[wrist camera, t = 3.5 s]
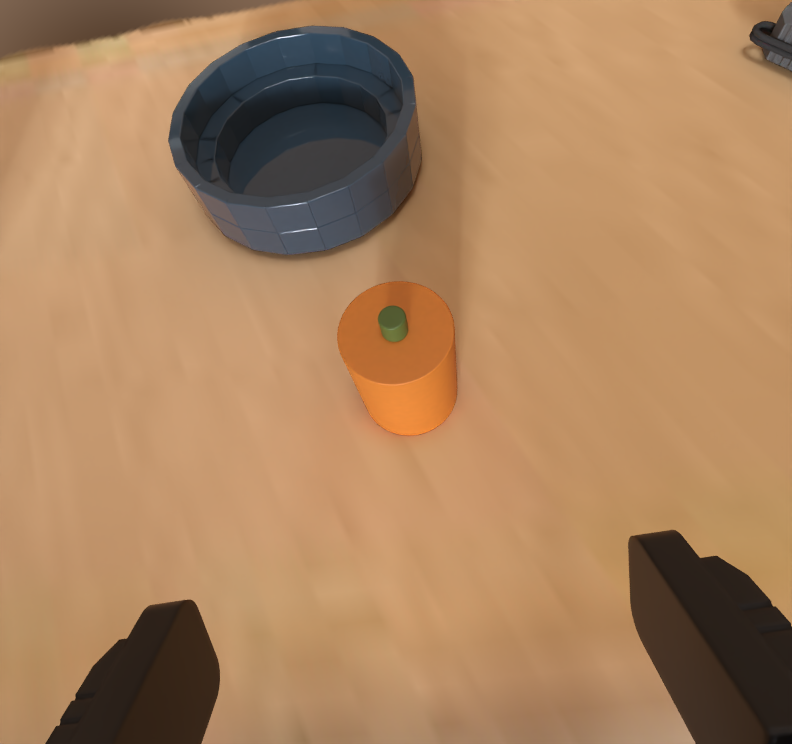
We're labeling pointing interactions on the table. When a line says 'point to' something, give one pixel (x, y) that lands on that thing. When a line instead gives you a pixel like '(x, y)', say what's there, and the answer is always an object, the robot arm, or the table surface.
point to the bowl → (299, 138)
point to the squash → (401, 355)
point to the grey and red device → (776, 39)
